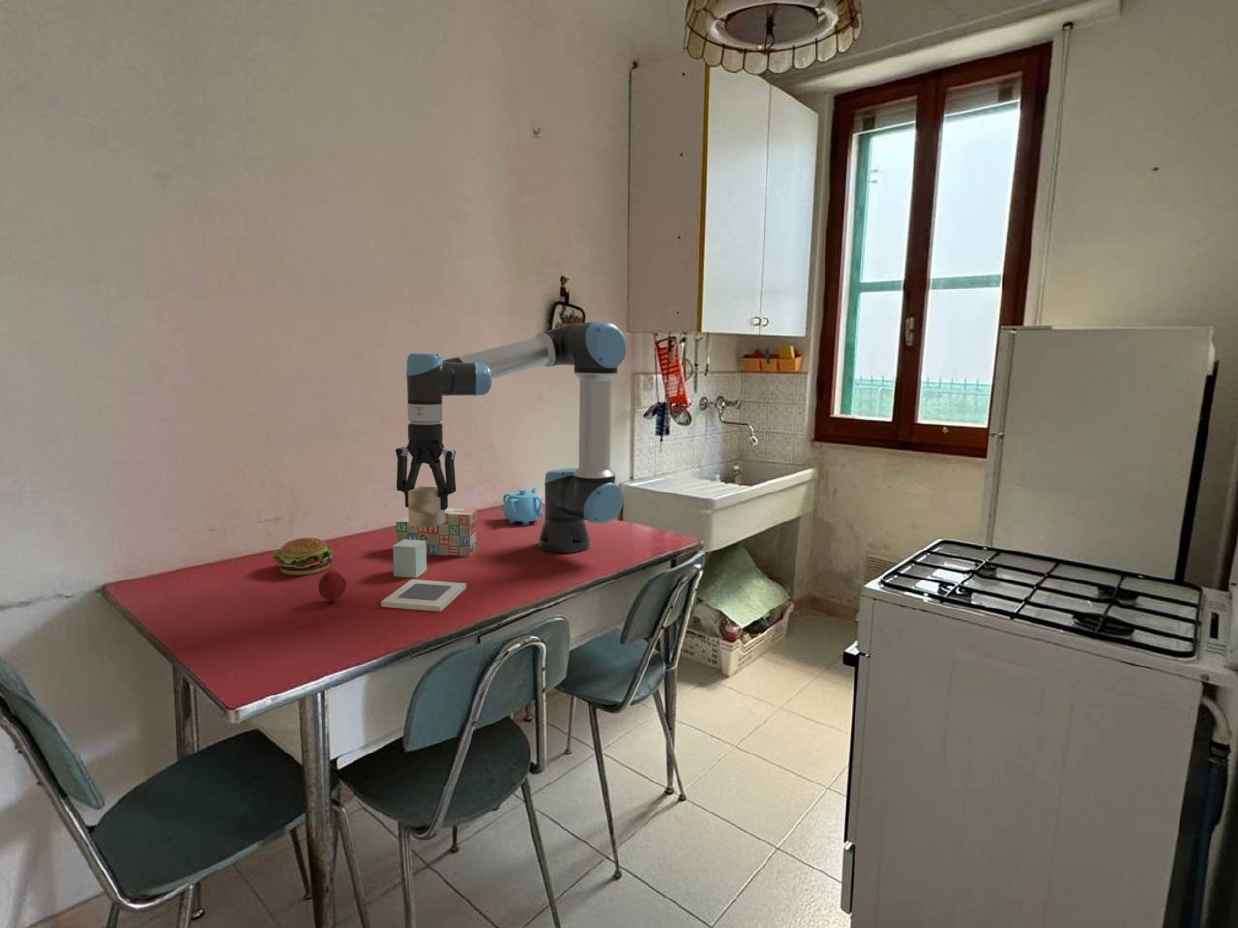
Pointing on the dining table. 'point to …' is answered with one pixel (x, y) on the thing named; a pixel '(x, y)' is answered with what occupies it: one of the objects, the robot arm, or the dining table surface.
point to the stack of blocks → (444, 533)
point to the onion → (332, 585)
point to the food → (303, 556)
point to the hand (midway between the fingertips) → (426, 522)
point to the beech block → (423, 506)
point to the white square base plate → (424, 595)
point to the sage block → (409, 558)
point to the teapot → (523, 506)
